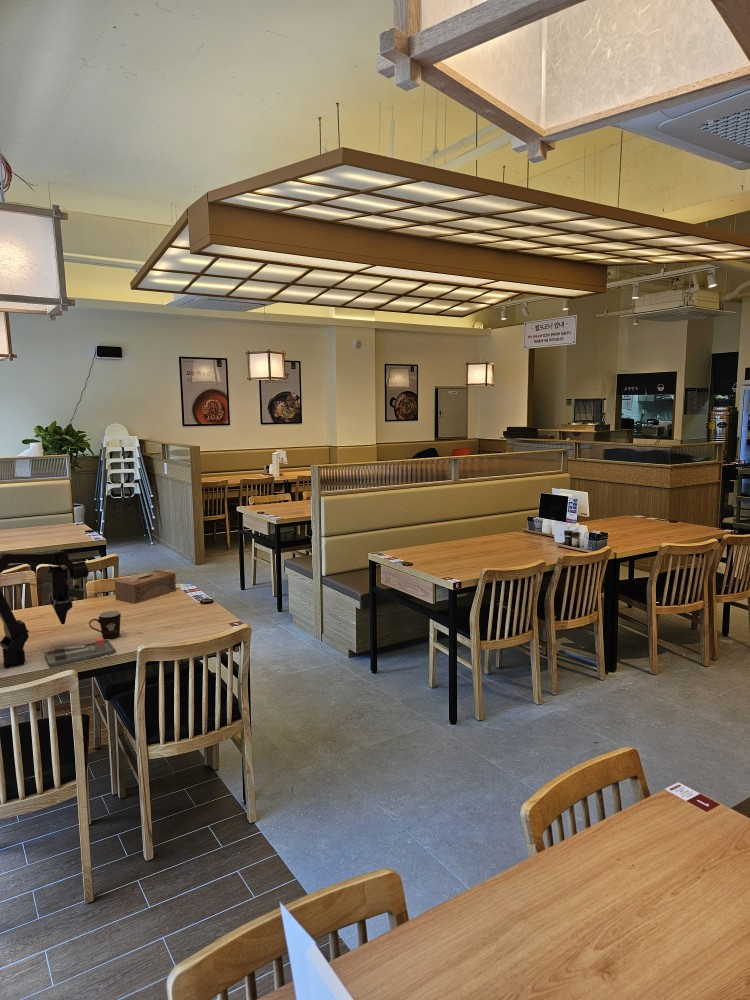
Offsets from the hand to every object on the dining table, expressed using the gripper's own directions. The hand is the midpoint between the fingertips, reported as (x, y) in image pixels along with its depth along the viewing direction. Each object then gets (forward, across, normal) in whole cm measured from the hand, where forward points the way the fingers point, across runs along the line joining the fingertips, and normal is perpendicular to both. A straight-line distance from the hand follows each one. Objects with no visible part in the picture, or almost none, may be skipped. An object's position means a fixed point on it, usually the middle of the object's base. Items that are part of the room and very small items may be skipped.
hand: (61, 621), depth 244 cm
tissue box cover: (+11, +61, -46) cm, 77 cm away
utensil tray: (+12, -9, -5) cm, 16 cm away
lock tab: (+9, -10, -12) cm, 18 cm away
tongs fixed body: (+11, -11, -5) cm, 16 cm away
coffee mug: (+12, +6, -18) cm, 22 cm away
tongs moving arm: (+11, -6, -2) cm, 13 cm away
